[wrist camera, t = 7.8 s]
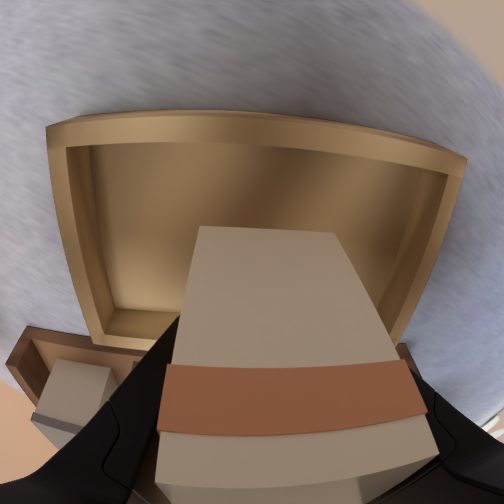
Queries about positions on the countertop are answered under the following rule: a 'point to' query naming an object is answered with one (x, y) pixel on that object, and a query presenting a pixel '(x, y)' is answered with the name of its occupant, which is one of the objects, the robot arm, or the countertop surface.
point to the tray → (238, 205)
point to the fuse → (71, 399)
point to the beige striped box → (284, 379)
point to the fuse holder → (83, 358)
